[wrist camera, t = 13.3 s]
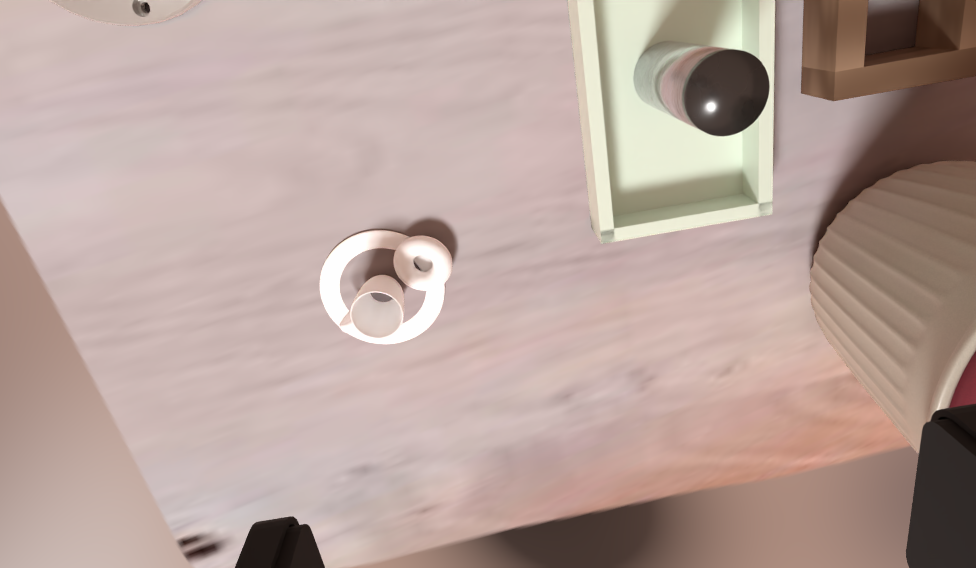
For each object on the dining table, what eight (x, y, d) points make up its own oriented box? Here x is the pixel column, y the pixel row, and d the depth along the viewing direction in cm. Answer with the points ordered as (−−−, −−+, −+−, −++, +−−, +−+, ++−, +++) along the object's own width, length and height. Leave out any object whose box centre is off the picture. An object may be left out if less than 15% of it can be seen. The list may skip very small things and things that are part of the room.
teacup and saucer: (445, 216, 40) (444, 237, 36) (466, 328, 43) (467, 359, 39) (307, 238, 40) (291, 262, 36) (338, 348, 43) (327, 381, 39)
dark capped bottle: (630, 46, 35) (684, 57, 27) (695, 35, 35) (770, 42, 27) (635, 113, 36) (687, 142, 28) (698, 102, 36) (769, 128, 28)
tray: (559, -79, 33) (568, -87, 30) (749, -114, 33) (776, -126, 30) (591, 227, 40) (601, 243, 37) (750, 200, 40) (772, 214, 37)
